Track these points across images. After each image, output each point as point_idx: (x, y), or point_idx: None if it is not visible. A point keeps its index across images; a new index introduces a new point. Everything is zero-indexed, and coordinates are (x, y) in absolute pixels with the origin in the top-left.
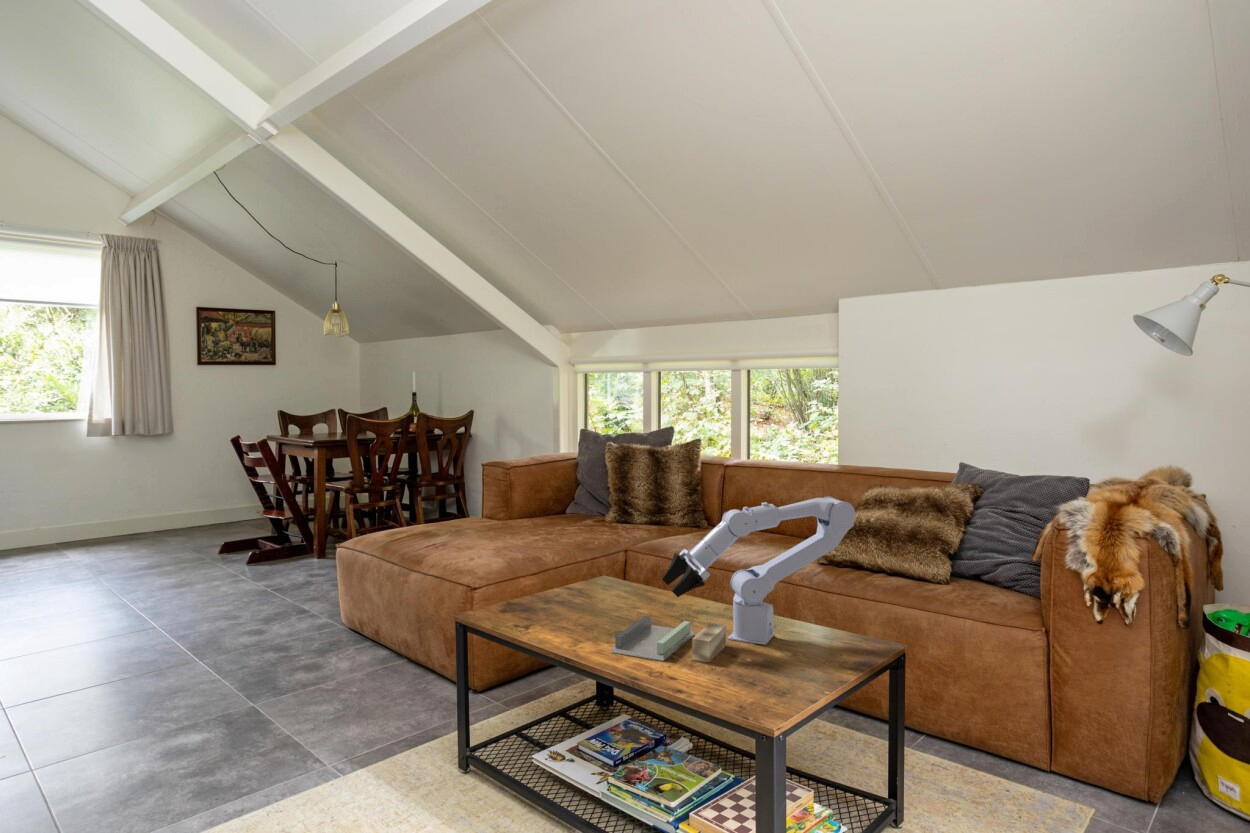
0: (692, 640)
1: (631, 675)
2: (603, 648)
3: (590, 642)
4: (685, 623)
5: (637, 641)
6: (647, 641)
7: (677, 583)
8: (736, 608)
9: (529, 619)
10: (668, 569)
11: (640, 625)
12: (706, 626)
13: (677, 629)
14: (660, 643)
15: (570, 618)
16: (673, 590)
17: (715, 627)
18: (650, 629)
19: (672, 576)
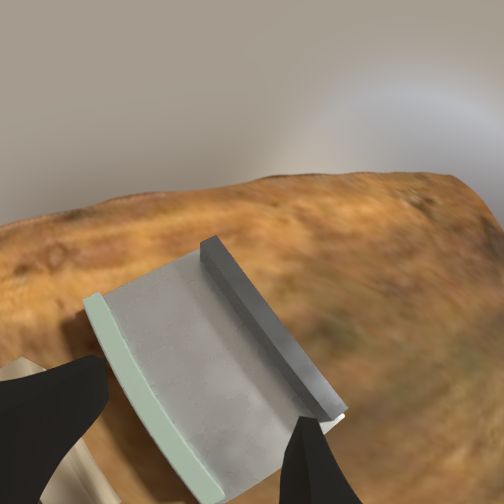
0: (24, 359)
1: (85, 218)
2: (253, 252)
3: (305, 249)
4: (196, 484)
5: (219, 319)
6: (202, 342)
7: (63, 377)
8: None
9: (454, 229)
10: (326, 471)
11: (278, 354)
12: (79, 481)
13: (153, 421)
14: (89, 296)
15: (453, 288)
16: (86, 357)
17: (56, 492)
18: (295, 408)
19: (287, 491)
